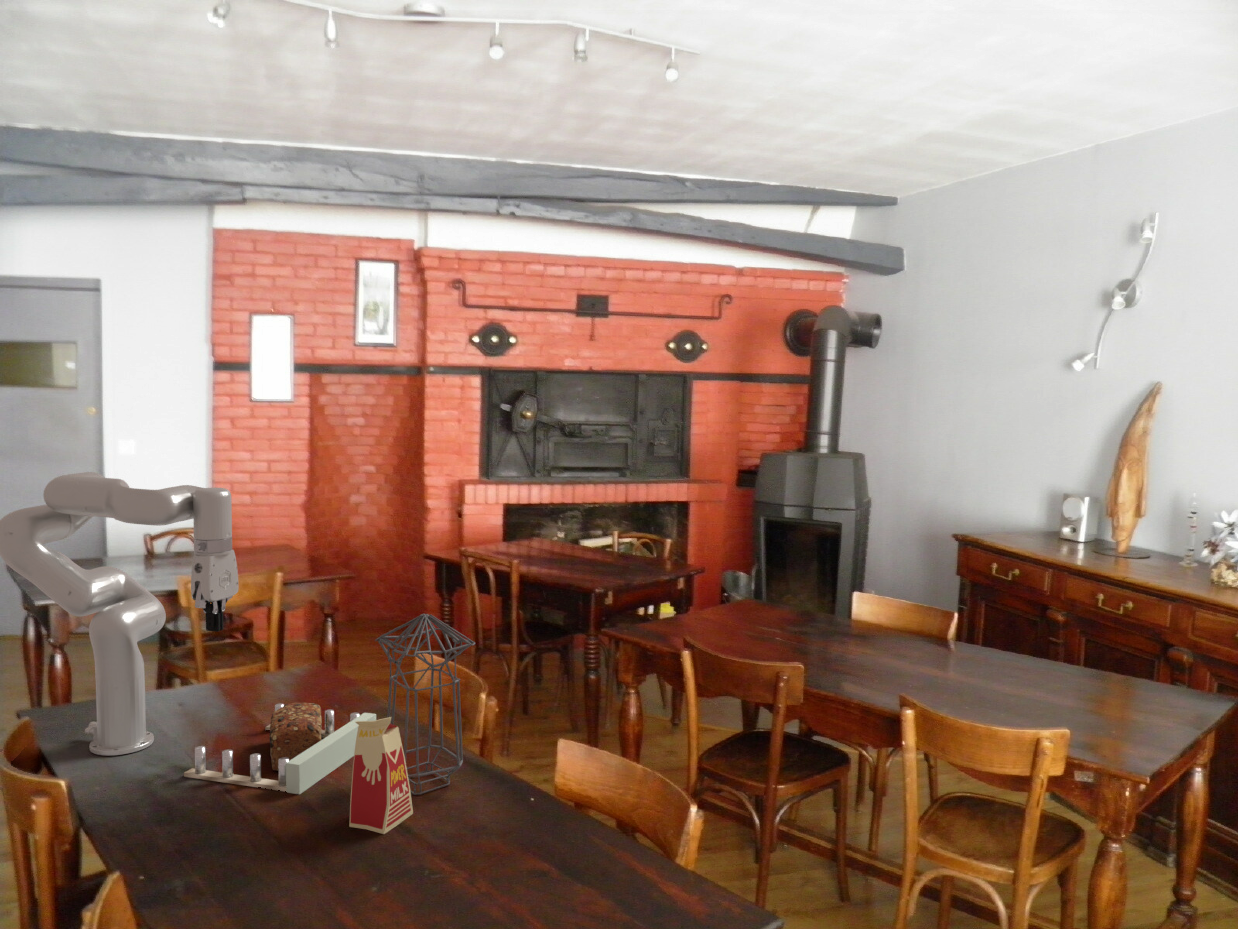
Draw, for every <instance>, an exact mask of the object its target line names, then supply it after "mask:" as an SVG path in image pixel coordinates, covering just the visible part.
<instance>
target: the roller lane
mask: <svg viewBox="0 0 1238 929" xmlns="http://www.w3.org/2000/svg"><path fill="white" fill-rule="evenodd" d="M284 705H285V704H284V703H282V702H281V703H280V702H279V703H276V704H275V705H274V711H277V710H278V709H280V708H281V707H283V706H284ZM349 717H350V719H349V720H350V721H349V722H347V723H346V724H345V725H343V726H341V727H340V728H338V729H336V730H335V710H334V709H327V710H326V709H325V710H324V729H321V730H322V731H321V741H319V742H318V743H316V744H315V745H313V746H312V747H310V748H309V749H307V750H305V751H304V752H302V753H301V754H299V755H298V756H296V757H295V758H293V759H291V760H290V761H289V758H288V757H283V758H280V759H279V760H278V765H279V771H278V780H276V779H269V778H262V758H261V757H262V754H261V753H259V752H258V753H252V754H250V755H249V775H250V776H248V775H242V774H234V750H233V749H224V750H222V752H221V757H222V758H221V759H222V760H221V761H222V762H221V764H222V765H221V770H222V771H221V772H220V771H213V770H207V767H206V766H207V765H206V764H207V762H206V761H207V760H206V746H205V745H198V746H195V747H194V767H191V768H189V769H188V770H185V771H184V772H183V777H185V778H189V779H198V780H199V779H200V780H204V781H212V782H218V783H219V782H220V783H225V784H232V785H233V784H234V785H238V786H247V787H251V788H258V787H261V788H260V789H265V788H266V789H267V790H271V789H272V790H273V791H278V790H280V791H279V792H285V791H286V792H287V793H288V794H295V795H301V794H302V793H304V792H305V791H307V790H308V789H310V788H311V787H313V786H314V785H315V784H316V783H318V782H319V781H320V780H322V779H324V777H326V776H328V775H329V774H330V773H331V772H333V771H335V770H336V769H337V768H339V767H340V766H342V765H343V764H345V763H346V762H347V761H350V760H351V759H352V758H354V752H355V743H356V737H357V732H358V726H359V725H358V724H357V723H356V721H375V720H377V714H376V713H372V712H363V713H362V714H360V713H359V712H351V713H350V716H349ZM266 730H270V724H268V725H267V726H265V731H266Z"/></svg>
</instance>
